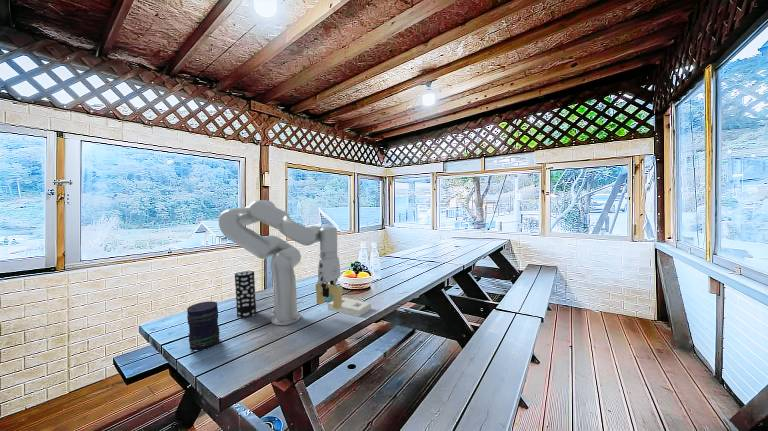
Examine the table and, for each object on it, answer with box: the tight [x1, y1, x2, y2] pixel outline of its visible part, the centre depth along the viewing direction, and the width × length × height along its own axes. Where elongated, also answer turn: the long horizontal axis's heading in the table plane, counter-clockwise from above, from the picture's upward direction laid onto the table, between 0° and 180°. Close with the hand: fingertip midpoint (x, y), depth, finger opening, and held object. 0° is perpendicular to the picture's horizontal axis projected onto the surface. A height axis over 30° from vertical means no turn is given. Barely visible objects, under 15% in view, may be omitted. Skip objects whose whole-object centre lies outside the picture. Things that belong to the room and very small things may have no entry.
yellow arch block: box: [315, 282, 343, 309], centre depth 127 cm, size 13×3×9 cm, turn 59°
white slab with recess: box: [327, 297, 372, 317], centre depth 139 cm, size 19×10×3 cm, turn 59°
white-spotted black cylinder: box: [234, 270, 257, 319], centre depth 135 cm, size 8×8×20 cm
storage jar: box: [186, 301, 221, 351], centre depth 108 cm, size 10×10×15 cm
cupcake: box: [325, 294, 333, 302], centre depth 152 cm, size 9×8×12 cm
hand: (328, 294), depth 127 cm, fingers closed on yellow arch block, 3 cm apart
